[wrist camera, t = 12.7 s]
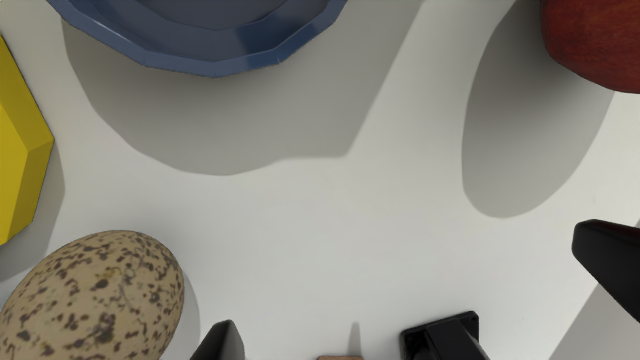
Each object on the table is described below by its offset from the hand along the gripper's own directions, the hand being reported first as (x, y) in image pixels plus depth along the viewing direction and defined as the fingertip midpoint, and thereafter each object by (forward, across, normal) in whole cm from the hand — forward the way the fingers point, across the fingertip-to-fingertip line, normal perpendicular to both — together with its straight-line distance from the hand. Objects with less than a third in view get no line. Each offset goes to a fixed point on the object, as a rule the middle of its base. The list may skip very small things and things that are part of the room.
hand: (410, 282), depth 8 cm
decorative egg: (+12, +13, +4) cm, 18 cm away
